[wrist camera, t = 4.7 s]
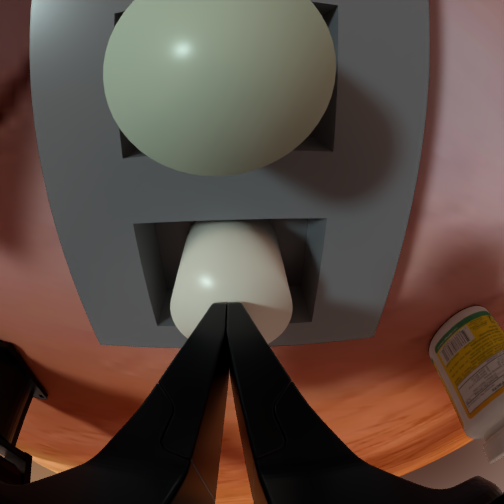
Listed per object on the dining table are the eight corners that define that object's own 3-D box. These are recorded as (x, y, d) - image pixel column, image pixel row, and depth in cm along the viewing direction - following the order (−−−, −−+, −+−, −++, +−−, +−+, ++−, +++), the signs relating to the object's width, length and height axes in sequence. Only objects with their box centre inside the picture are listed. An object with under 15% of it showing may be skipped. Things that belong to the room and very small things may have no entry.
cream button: (275, 279, 13) (287, 350, 10) (191, 281, 13) (180, 352, 10) (278, 201, 11) (297, 260, 8) (182, 204, 11) (160, 264, 8)
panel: (356, 299, 15) (373, 337, 12) (115, 306, 14) (100, 344, 12) (377, -106, 4) (402, -129, 2) (85, -98, 4) (60, -119, 1)
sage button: (290, 134, 8) (329, 175, 5) (164, 138, 8) (114, 183, 5) (291, 15, 6) (335, -29, 3) (159, 20, 6) (103, -18, 3)
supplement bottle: (435, 316, 16) (506, 448, 8) (495, 293, 15) (568, 400, 7) (419, 367, 19) (466, 479, 10) (475, 345, 18) (526, 441, 10)
